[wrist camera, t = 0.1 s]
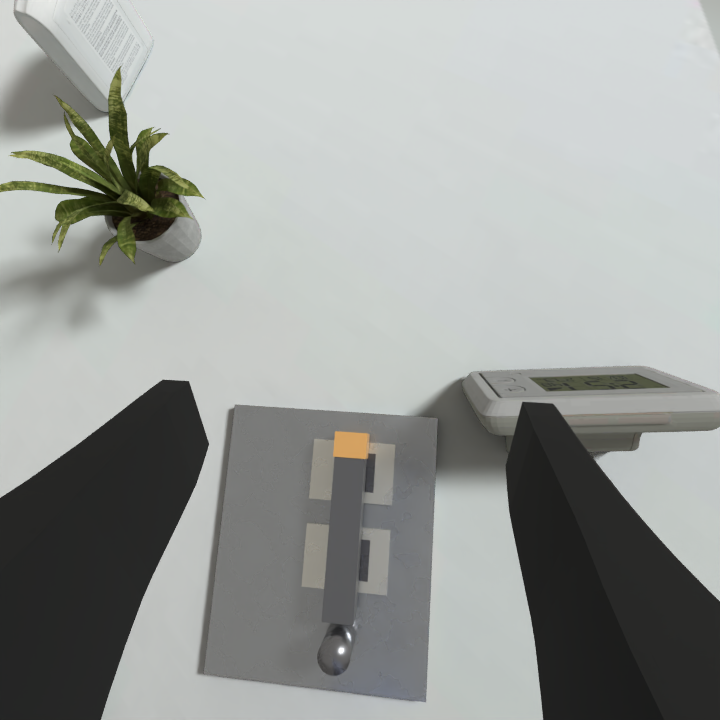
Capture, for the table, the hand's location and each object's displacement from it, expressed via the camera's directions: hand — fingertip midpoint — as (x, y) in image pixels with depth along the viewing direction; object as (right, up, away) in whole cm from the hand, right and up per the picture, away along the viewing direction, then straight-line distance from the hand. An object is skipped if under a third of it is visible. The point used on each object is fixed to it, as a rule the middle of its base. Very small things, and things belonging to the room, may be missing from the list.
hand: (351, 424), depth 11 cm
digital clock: (+17, -2, +31) cm, 35 cm away
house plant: (-19, +12, +37) cm, 43 cm away
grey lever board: (-3, -14, +30) cm, 33 cm away
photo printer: (-25, +33, +41) cm, 58 cm away
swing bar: (-1, -12, +29) cm, 31 cm away
